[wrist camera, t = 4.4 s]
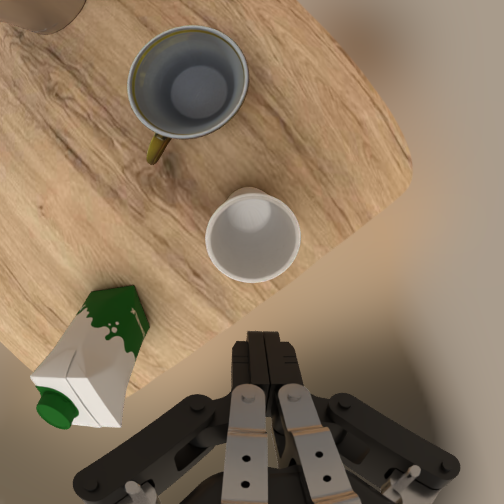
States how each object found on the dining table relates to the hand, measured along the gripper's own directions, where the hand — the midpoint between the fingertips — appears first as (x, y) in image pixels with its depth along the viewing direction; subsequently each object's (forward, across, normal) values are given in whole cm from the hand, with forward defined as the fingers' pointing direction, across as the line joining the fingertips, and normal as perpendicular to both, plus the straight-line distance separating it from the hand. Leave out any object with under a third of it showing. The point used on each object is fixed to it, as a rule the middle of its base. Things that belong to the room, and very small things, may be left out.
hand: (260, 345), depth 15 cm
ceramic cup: (+24, +6, -12) cm, 27 cm away
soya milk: (+23, +17, +14) cm, 32 cm away
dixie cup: (+24, 0, 0) cm, 24 cm away
